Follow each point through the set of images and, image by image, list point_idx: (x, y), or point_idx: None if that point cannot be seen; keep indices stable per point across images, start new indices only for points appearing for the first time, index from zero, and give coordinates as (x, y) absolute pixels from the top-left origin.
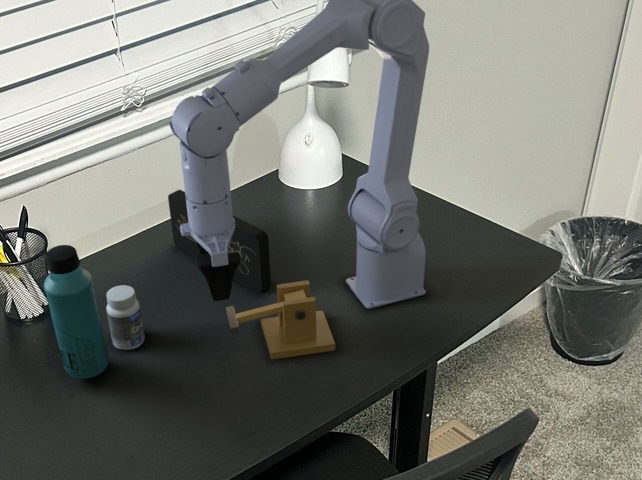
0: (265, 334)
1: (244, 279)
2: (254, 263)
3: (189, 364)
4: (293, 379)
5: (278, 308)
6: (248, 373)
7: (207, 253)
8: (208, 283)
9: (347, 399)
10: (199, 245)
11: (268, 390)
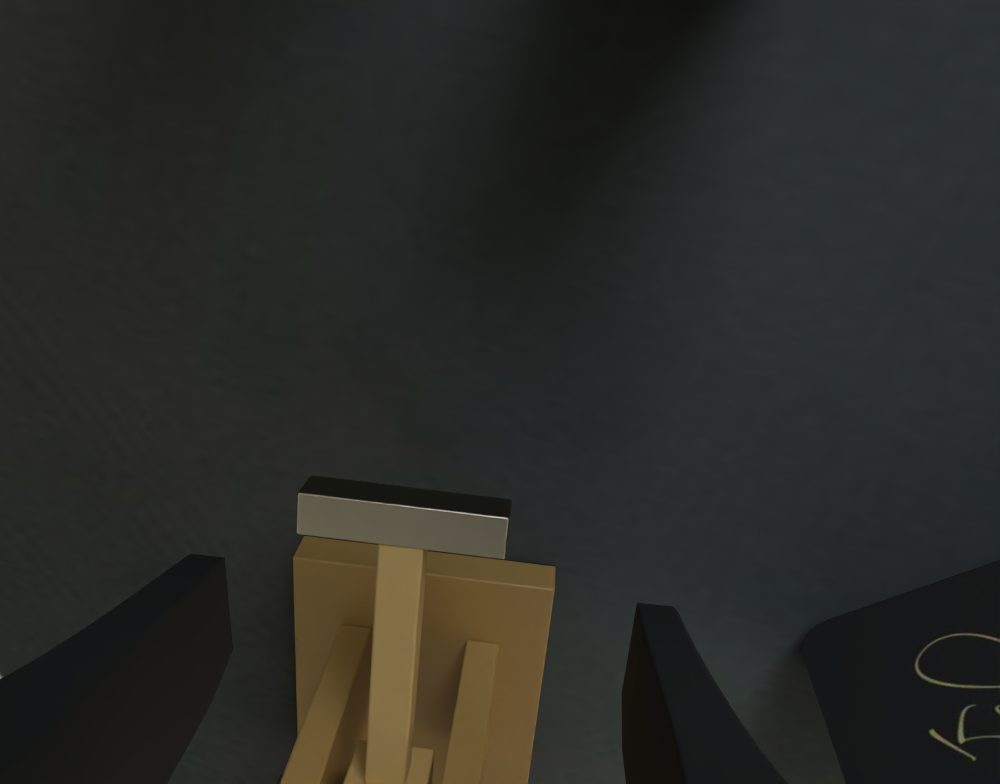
0: (431, 574)
1: (928, 611)
2: (888, 747)
3: (358, 184)
4: (164, 571)
5: (368, 742)
6: (232, 429)
7: (653, 744)
8: (31, 664)
9: None
10: (677, 781)
11: (108, 471)
